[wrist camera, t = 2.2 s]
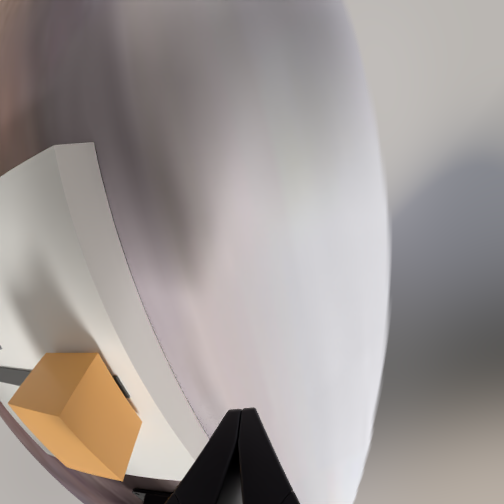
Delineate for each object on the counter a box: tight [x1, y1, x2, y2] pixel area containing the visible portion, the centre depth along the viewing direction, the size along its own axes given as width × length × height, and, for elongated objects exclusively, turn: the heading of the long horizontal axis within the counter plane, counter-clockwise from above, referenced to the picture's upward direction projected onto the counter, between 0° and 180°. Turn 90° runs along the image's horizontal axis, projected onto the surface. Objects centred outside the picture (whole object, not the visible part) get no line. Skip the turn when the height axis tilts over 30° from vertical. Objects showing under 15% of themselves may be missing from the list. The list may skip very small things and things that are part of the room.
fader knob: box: [8, 353, 142, 481], centre depth 8 cm, size 4×3×3 cm
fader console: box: [0, 142, 209, 481], centre depth 11 cm, size 18×14×3 cm
